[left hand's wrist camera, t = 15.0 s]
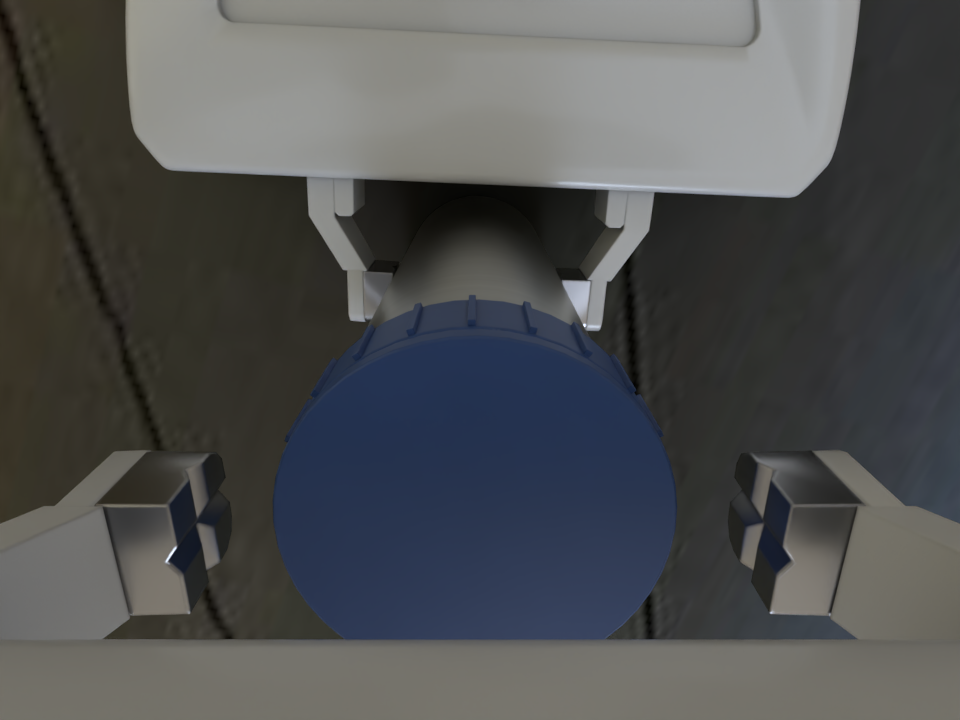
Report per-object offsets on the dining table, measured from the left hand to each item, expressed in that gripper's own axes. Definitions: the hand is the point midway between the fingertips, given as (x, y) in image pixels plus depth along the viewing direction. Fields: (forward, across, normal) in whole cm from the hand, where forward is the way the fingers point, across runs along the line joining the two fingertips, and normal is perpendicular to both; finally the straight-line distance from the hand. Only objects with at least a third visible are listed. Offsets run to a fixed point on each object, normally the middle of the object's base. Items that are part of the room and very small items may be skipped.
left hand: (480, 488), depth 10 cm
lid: (0, 0, 0) cm, 1 cm away
